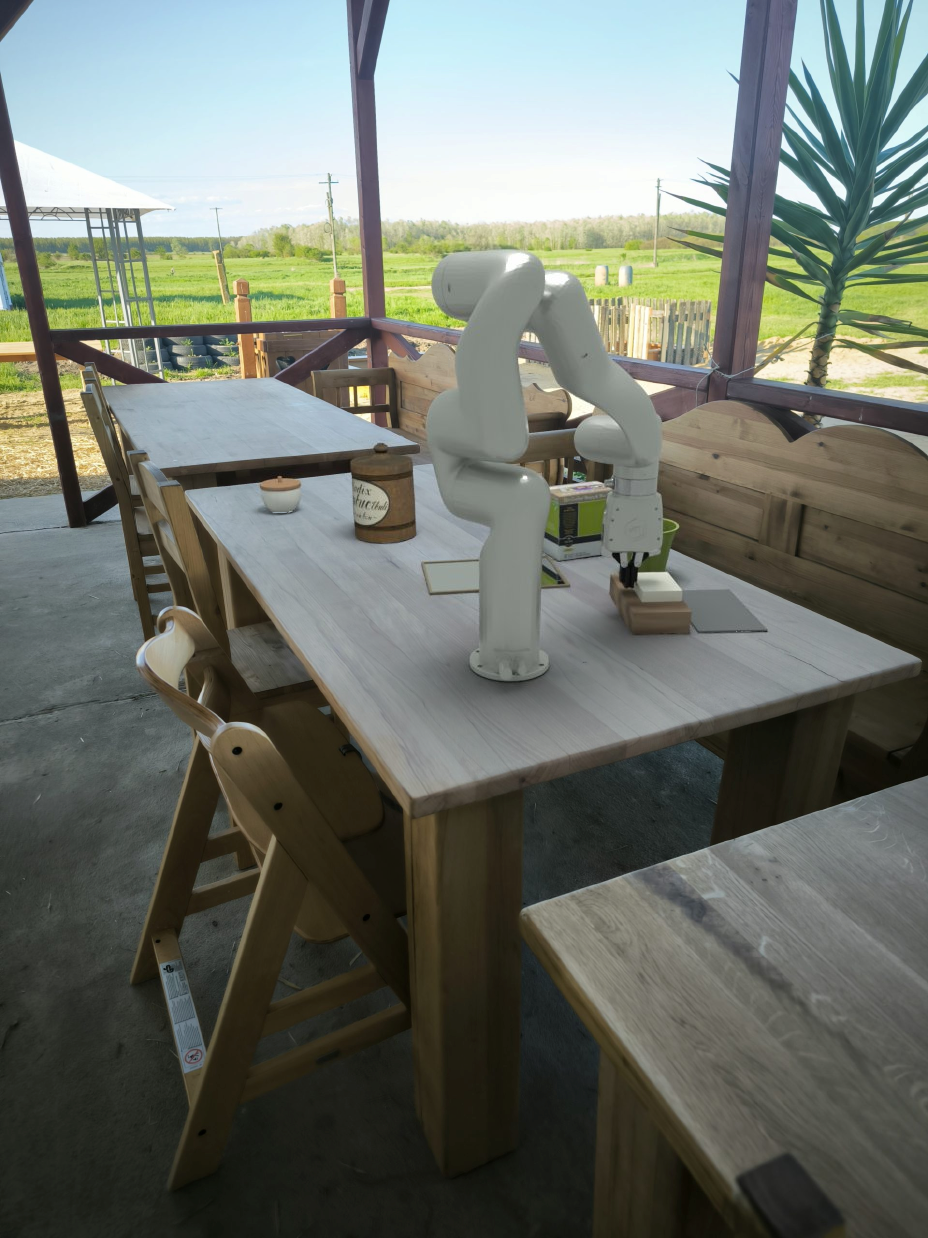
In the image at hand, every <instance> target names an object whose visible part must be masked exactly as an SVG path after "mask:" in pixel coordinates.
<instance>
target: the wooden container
mask: <svg viewBox="0 0 928 1238" xmlns="http://www.w3.org/2000/svg"><path fill="white" fill-rule="evenodd" d="M372 448H373V452H374V453H373V455H372V454H371V455H364V456H359V457H355V458H352V459H351V460H350V465H349V466H350V474H351V486H352V487H351V490H352V510H353V511H352V513H353V524H354V525H353V526H354V536H355V538H356V539H357V540H359V541H362V542H367V543H371V544H392V543H398V542H399V543H400V542H405V541H407V540H410V539H412V538H414V537H415V536H416V534H417V521H416V520H417V519H416V495H415V482H414V464H413V458H411V456H408V455H402V454H390V453H389V452H388V451H389V446H388V445H387V444H386V443H384V442H377V443H376V444H375V445H374V446H373V447H372Z"/></svg>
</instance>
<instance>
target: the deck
mask: <svg viewBox="0 0 928 1238" xmlns="http://www.w3.org/2000/svg"><path fill="white" fill-rule="evenodd" d="M608 595H609V596H610V598H611V599H612V601H613V603H614V605H615V606H616V609H617V610H618V612H619V614H620V615H621V618H622V620H623V621H624V623H625V625H626V626H627V628H628V629H629V632H630V633H631V635H667V633H668V634H669V633H670V634H671V633H680V634H690V632H691V625H692V624H691V615H692V611H691V610H690V609H689V607H688V606H687V605H686V603H685V602H684V601H683V600H682V601H673V602H642V601H641V600H640V598H639V597H638V595H637V594H636V592H635V591H634V589H633V588H630V587H629V588H624V586H623V585H622V582H621V583H620V581H619V573H610V577H609V592H608ZM660 633H661V634H660ZM662 633H663V634H662ZM670 634H669V635H670ZM671 635H672V634H671Z"/></svg>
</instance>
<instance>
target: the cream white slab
mask: <svg viewBox="0 0 928 1238" xmlns="http://www.w3.org/2000/svg"><path fill="white" fill-rule="evenodd" d="M633 589H634V591H635V592H636V594H637V595H638V597H639V598H640V600H641V601H642V602H673V601H682V592H683V590H684V589H683V588H681V587H680V586H679V584H678V582H676V580H675V579H674V578H673V577H672V576H671V574H670V573H669V571H665V572H643V573H638V578H637V582H634V588H633Z"/></svg>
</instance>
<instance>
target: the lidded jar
mask: <svg viewBox="0 0 928 1238" xmlns="http://www.w3.org/2000/svg"><path fill="white" fill-rule="evenodd" d="M301 486H302V481H300V480H299V479H296V478H288V477H287V478H283V477H282V476H280V475H279V476H277V478H272V479H267V480H264V481H262V482H260V483H259V488H260V496H261V500H262V502H263V504H264V506H265V507H266V508H267V509H268V510H269V511H270V512H271V511H272V512H289V511H293V510H294V511H295V509H296V508H297V507H298V506H299V504H300V502H301V498H302V487H301ZM272 512H271V513H272Z"/></svg>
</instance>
